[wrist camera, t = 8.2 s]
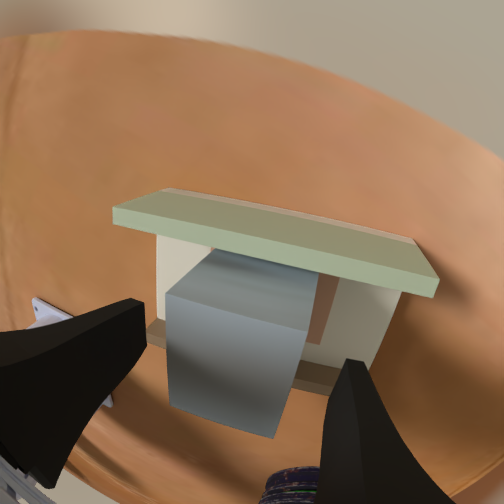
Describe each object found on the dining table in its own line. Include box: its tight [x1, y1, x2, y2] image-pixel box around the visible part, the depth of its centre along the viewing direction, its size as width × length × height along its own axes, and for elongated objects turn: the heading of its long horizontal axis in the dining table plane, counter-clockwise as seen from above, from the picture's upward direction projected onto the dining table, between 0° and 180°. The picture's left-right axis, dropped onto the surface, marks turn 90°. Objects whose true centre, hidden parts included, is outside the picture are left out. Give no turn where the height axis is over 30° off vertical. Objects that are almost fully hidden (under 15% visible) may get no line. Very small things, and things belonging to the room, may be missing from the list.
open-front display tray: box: [113, 188, 440, 396], centre depth 13 cm, size 8×12×4 cm, turn 82°
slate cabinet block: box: [165, 248, 319, 439], centre depth 12 cm, size 5×4×6 cm
